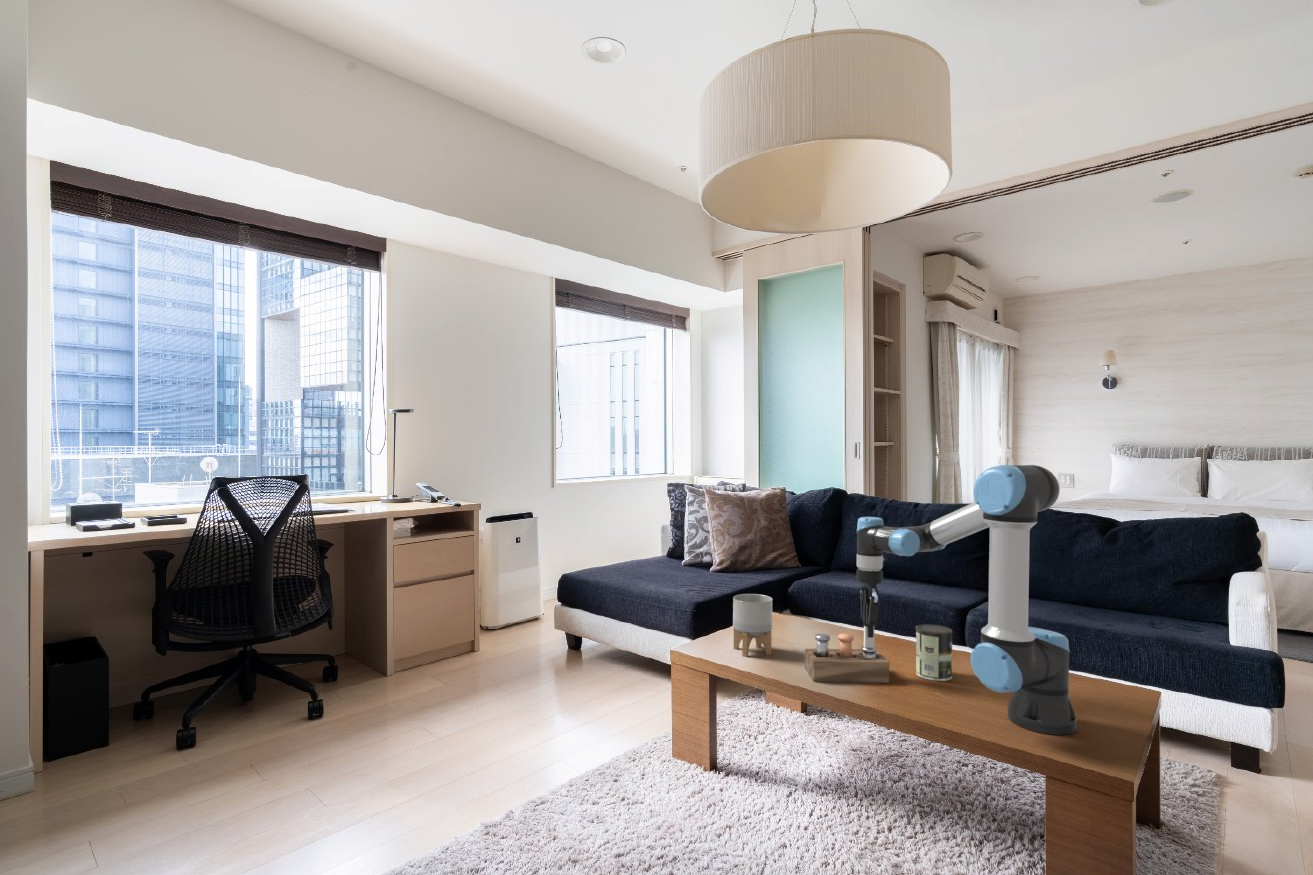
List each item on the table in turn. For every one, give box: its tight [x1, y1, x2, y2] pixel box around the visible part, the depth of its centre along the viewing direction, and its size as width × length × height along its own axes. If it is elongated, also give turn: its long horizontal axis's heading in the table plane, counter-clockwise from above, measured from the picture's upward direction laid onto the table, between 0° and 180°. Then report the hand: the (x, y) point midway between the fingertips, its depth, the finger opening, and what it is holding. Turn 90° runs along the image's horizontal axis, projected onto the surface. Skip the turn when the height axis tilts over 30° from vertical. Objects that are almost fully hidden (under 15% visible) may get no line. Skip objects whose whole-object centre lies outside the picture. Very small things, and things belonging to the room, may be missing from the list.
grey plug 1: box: [814, 633, 831, 658], centre depth 202 cm, size 4×4×7 cm
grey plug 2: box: [860, 645, 878, 658], centre depth 202 cm, size 4×4×7 cm
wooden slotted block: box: [804, 648, 890, 684], centre depth 202 cm, size 12×22×6 cm, turn 90°
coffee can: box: [915, 623, 954, 682], centre depth 202 cm, size 10×10×14 cm
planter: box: [732, 593, 773, 658], centre depth 224 cm, size 13×13×18 cm
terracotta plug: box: [837, 633, 855, 658], centre depth 202 cm, size 4×4×7 cm
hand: (868, 646), depth 202 cm, fingers closed
